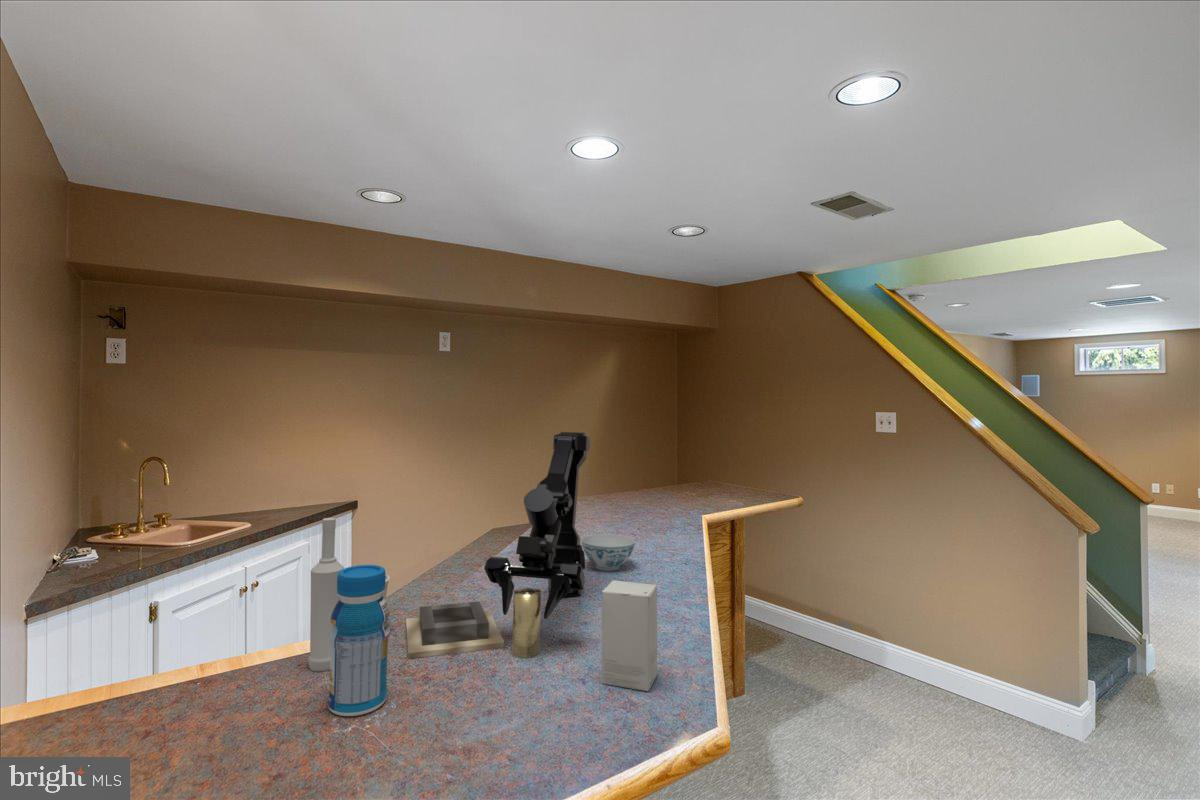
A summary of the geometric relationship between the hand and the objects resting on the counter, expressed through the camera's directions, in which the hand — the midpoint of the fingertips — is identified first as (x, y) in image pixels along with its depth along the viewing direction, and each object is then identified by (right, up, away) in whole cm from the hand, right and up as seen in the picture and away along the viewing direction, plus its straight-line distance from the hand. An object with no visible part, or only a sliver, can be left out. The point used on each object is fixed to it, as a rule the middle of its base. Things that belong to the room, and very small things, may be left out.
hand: (524, 615), depth 105 cm
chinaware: (+16, -8, +58) cm, 60 cm away
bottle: (-33, -6, -6) cm, 35 cm away
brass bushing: (0, -7, +1) cm, 7 cm away
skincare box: (+18, -8, -8) cm, 22 cm away
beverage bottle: (-23, -7, -18) cm, 30 cm away
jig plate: (-15, -7, +8) cm, 18 cm away
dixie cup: (-33, -7, +10) cm, 35 cm away
